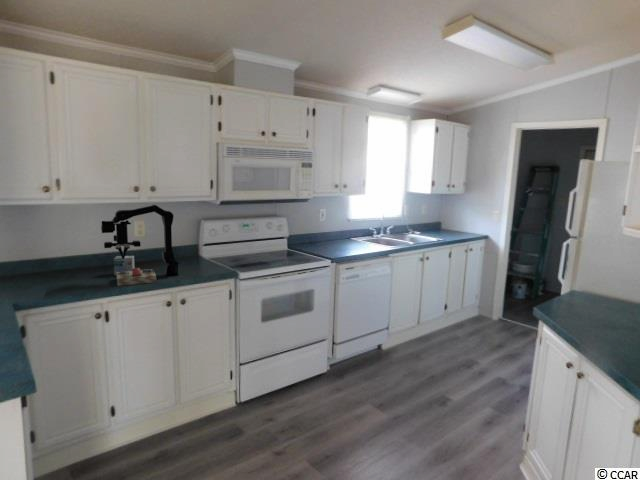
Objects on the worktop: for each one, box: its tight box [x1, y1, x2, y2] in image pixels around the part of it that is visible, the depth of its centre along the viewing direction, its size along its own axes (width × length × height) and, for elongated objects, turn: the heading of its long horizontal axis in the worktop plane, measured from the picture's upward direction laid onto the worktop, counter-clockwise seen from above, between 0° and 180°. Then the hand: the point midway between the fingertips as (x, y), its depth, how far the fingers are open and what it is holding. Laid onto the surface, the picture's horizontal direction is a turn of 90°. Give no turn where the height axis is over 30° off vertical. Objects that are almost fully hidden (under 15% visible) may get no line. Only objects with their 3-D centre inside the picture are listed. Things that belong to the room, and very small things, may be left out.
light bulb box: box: [113, 255, 136, 276], centre depth 250 cm, size 11×7×11 cm, turn 105°
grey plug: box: [142, 268, 151, 273], centre depth 241 cm, size 4×4×4 cm
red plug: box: [132, 267, 141, 277], centre depth 231 cm, size 4×4×4 cm
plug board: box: [115, 269, 157, 287], centre depth 235 cm, size 20×16×4 cm
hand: (123, 258), depth 234 cm, fingers closed
